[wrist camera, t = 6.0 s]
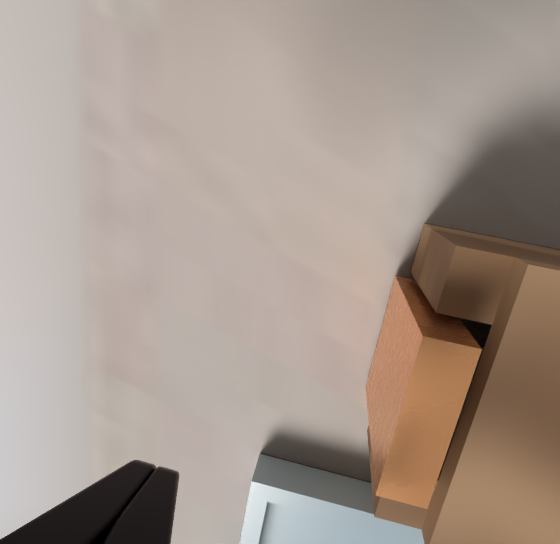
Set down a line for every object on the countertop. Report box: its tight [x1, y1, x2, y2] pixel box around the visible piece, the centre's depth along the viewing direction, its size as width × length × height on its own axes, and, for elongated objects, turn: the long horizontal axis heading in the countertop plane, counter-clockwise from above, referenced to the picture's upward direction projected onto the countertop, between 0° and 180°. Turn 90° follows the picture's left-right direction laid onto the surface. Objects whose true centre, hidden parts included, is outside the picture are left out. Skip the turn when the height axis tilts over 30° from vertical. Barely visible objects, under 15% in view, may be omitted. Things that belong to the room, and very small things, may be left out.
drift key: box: [366, 276, 492, 509], centre depth 13 cm, size 5×9×6 cm, turn 80°
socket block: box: [367, 223, 560, 544], centre depth 13 cm, size 9×9×5 cm
